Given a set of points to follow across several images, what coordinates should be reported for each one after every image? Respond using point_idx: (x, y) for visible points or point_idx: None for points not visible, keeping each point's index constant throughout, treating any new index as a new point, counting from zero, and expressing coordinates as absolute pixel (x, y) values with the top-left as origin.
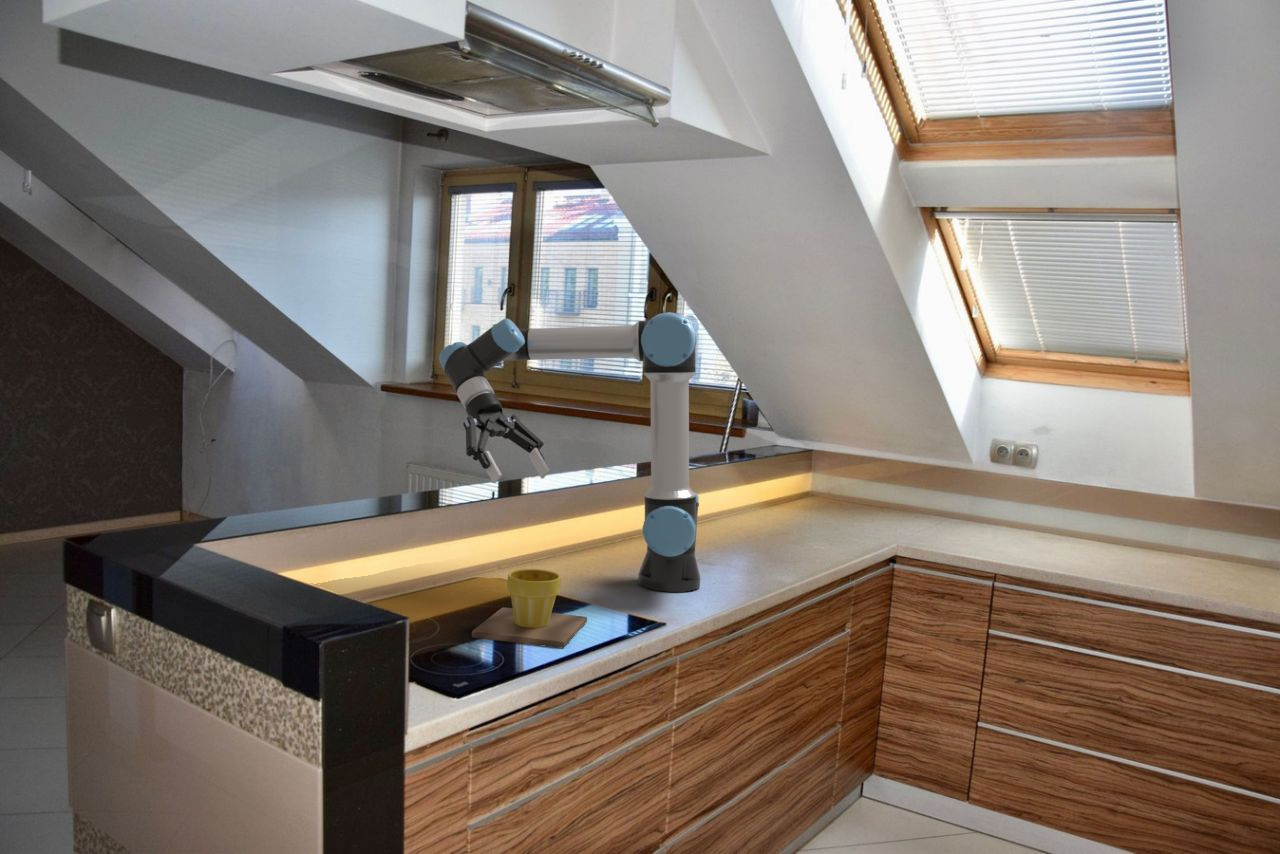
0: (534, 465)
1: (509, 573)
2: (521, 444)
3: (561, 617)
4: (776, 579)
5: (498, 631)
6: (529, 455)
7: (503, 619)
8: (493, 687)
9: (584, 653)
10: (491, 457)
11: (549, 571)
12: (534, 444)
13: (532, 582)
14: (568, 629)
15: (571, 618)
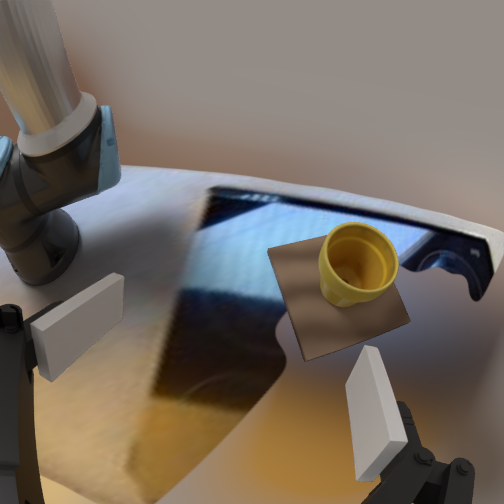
0: (87, 346)
1: (386, 286)
2: (29, 415)
3: (293, 271)
4: None
5: (391, 298)
6: (54, 372)
7: (353, 323)
8: (462, 231)
9: (360, 209)
10: (387, 407)
11: (326, 251)
12: (12, 337)
13: (389, 240)
14: None
15: (288, 259)
